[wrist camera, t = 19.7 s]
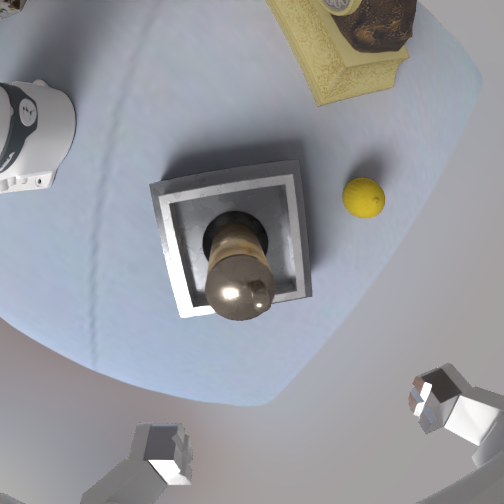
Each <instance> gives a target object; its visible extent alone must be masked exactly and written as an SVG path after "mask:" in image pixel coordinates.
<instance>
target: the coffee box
mask: <svg viewBox="0 0 504 504" xmlns="http://www.w3.org/2000/svg"><path fill="white" fill-rule="evenodd" d="M25 2H26V0H0V17H1V18H5V17H7V16H10V15H13V14H15V13H18V12H20V11H21V10H22V8H23V6H24V4H25Z"/></svg>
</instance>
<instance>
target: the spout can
mask: <svg viewBox="0 0 504 504" xmlns="http://www.w3.org/2000/svg"><path fill="white" fill-rule="evenodd" d="M275 290H276V285H275V280H274V277H273V274H272V272H271V270H270V267H269V265H268V262H267V260H266V257H265V255H264V252H263V250H262V247H261V245H260V243H259V240H258V238H257V235H256V233H255V232H254V230H253V229H252V228H251V227H249V226H248V225H246V224H244V223H241V222H230V223H227V224H225V225H223V226H221V227H220V228H219V229H218V230H217V231H216V233H215V234H214V237H213V240H212V246H211V252H210V258H209V264H208V270H207V277H206V283H205V294H206V298H207V301H208V303H209V305H210V306H211V308H212V309H213V310H214V311H215V312H216V313H218V314H219V315H221V316H222V317H224V318H227V319H231V320H237V321H243V320H249V319H252V318H255V317H257V316H259V315H260V314H262V313H263V312H265V311H267V310H269V308H270V307H271V303H272V301H273V299H274V296H275Z"/></svg>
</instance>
